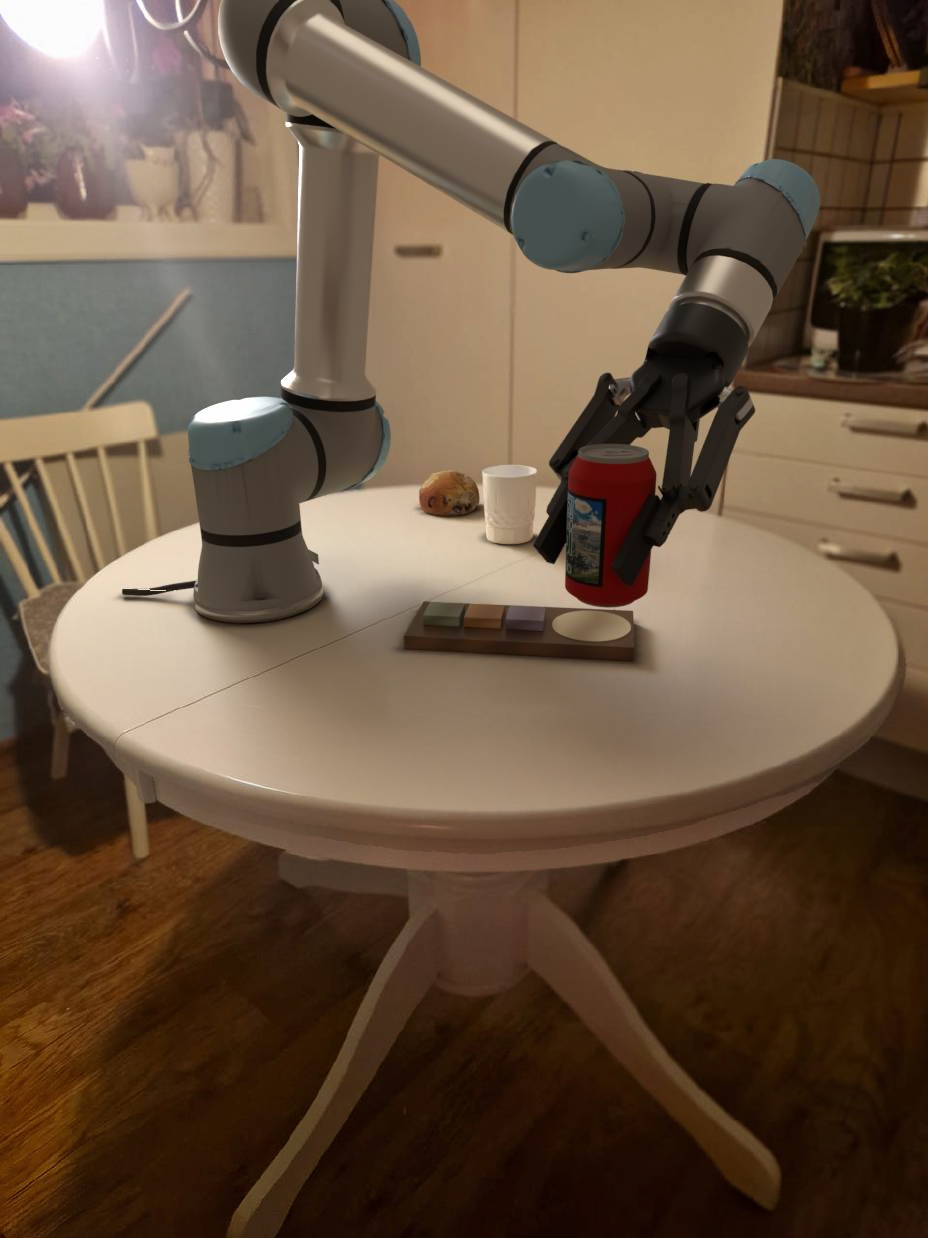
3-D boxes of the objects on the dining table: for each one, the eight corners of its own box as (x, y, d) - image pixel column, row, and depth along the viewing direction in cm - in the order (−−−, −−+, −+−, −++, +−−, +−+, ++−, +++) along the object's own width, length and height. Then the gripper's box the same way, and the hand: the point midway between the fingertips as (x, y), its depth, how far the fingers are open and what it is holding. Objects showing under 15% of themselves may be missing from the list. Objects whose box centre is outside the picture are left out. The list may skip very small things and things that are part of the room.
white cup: (536, 530, 130) (538, 464, 126) (535, 546, 123) (536, 477, 119) (484, 529, 131) (484, 464, 127) (480, 545, 124) (479, 476, 120)
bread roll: (478, 522, 147) (476, 475, 147) (482, 512, 137) (480, 462, 137) (420, 524, 146) (418, 477, 147) (420, 514, 136) (418, 464, 137)
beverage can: (558, 583, 74) (562, 442, 69) (636, 580, 74) (645, 440, 69) (572, 613, 68) (577, 461, 63) (657, 610, 68) (669, 459, 63)
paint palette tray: (403, 648, 92) (402, 625, 91) (423, 612, 101) (422, 591, 100) (633, 661, 88) (635, 636, 87) (632, 622, 97) (633, 600, 96)
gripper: (834, 369, 68) (709, 620, 64) (623, 353, 81) (507, 561, 76) (815, 301, 62) (677, 570, 58) (592, 295, 75) (465, 515, 71)
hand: (581, 564), depth 67 cm, fingers closed on beverage can, 7 cm apart
